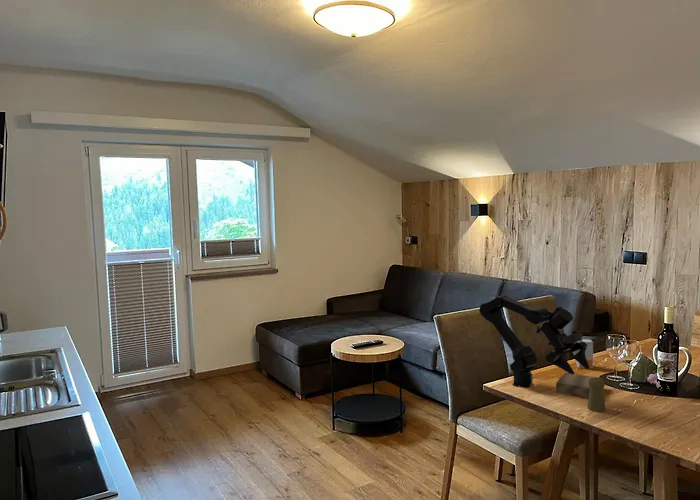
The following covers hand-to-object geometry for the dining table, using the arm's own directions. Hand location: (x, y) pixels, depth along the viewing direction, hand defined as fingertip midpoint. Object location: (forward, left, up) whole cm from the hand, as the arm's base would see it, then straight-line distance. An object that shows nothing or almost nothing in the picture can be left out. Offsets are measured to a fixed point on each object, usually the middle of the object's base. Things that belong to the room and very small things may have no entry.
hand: (581, 371), depth 189 cm
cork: (+6, -2, -12) cm, 14 cm away
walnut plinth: (-3, +14, -12) cm, 19 cm away
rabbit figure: (+21, +34, -12) cm, 42 cm away
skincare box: (-7, +45, -12) cm, 47 cm away
